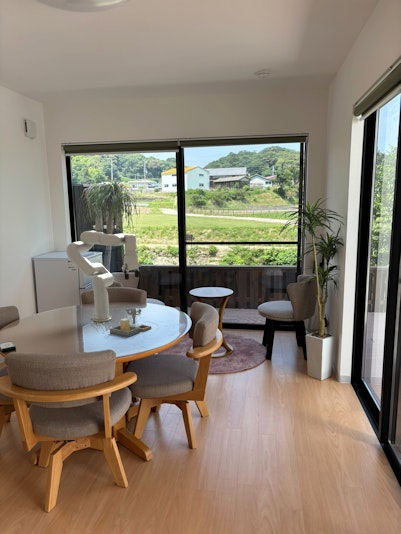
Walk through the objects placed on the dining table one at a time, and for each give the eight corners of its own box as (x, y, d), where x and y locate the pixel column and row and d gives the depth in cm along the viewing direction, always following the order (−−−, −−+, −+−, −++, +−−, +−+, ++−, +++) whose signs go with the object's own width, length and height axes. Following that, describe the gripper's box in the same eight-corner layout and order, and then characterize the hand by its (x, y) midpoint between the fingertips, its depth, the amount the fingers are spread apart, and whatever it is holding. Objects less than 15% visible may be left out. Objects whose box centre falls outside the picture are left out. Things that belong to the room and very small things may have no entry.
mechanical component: (140, 324, 268) (140, 309, 266) (126, 323, 270) (125, 309, 268) (142, 323, 271) (141, 308, 269) (127, 322, 273) (127, 308, 271)
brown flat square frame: (134, 329, 256) (134, 327, 256) (142, 326, 262) (142, 324, 262) (143, 331, 252) (143, 329, 252) (151, 328, 258) (151, 326, 258)
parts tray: (110, 333, 250) (109, 328, 250) (122, 328, 259) (122, 324, 259) (127, 337, 242) (127, 332, 242) (140, 332, 251) (139, 327, 251)
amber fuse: (120, 332, 250) (120, 319, 249) (125, 330, 253) (125, 318, 252) (125, 333, 248) (124, 320, 246) (130, 331, 251) (129, 319, 250)
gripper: (135, 251, 275) (136, 275, 278) (117, 254, 261) (118, 279, 264) (143, 251, 271) (144, 276, 274) (125, 254, 257) (127, 280, 259)
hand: (131, 278), depth 269 cm, fingers open, 9 cm apart
